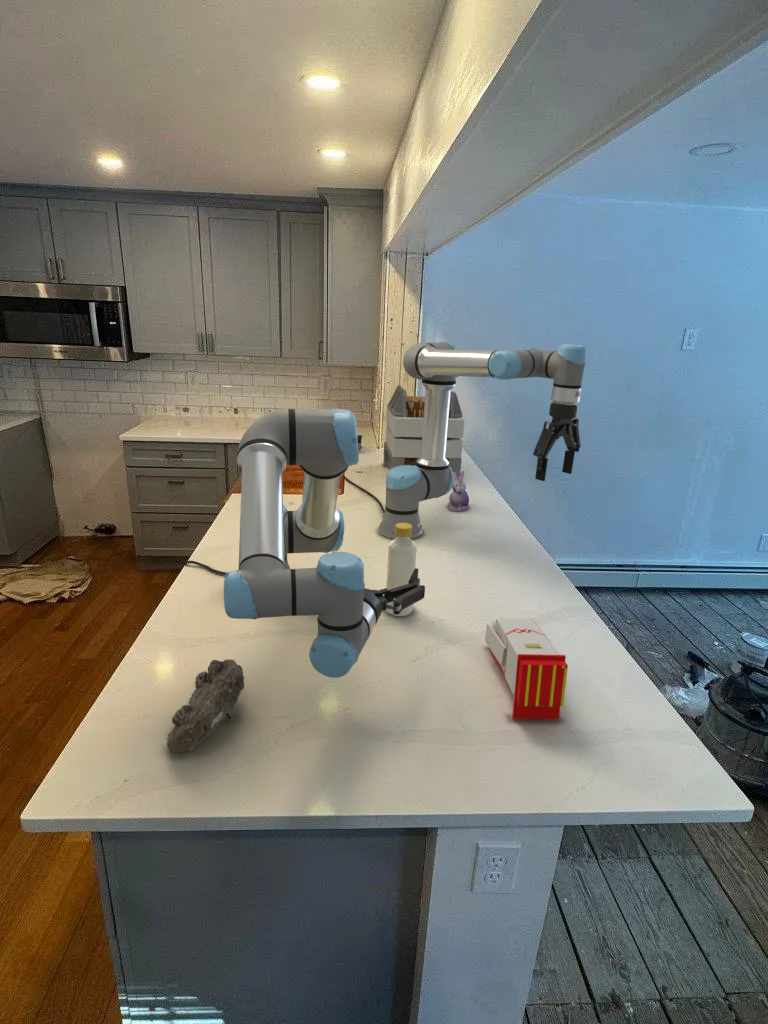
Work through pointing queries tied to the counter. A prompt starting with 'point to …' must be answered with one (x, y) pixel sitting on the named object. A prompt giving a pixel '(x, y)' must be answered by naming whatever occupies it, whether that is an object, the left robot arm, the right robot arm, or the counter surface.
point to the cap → (403, 530)
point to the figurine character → (359, 442)
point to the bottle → (400, 566)
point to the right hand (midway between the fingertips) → (553, 476)
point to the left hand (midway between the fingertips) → (385, 569)
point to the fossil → (206, 705)
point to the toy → (529, 667)
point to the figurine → (458, 494)
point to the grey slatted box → (418, 431)
